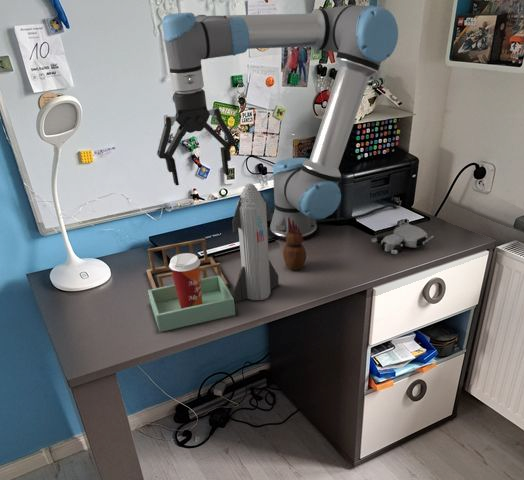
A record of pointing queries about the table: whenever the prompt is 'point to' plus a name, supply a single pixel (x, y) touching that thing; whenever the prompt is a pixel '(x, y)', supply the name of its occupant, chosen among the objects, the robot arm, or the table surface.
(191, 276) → the paper cup
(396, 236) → the robot toy
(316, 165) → the robot arm
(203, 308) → the green rectangular tray
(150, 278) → the drying rack
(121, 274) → the table surface
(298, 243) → the wooden figurine
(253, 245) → the rocket model
